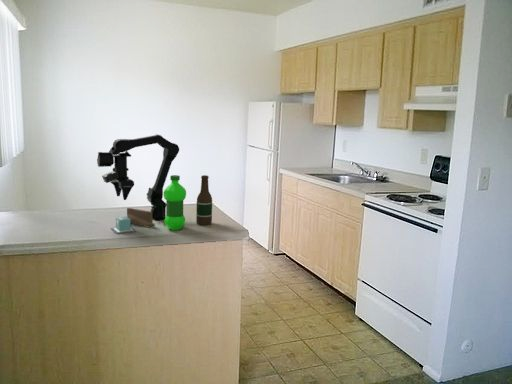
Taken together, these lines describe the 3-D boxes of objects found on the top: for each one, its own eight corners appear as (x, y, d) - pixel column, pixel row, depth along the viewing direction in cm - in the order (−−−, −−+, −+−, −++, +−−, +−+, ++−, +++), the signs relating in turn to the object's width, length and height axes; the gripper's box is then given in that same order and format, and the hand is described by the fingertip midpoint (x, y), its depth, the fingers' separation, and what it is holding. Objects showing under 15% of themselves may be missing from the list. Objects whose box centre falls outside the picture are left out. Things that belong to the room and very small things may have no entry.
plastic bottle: (161, 226, 212) (161, 174, 207) (183, 224, 216) (183, 173, 211) (166, 232, 203) (165, 178, 198) (188, 230, 207) (189, 177, 202)
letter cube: (126, 227, 206) (126, 216, 205) (130, 229, 202) (130, 219, 201) (115, 228, 204) (115, 217, 203) (119, 231, 199) (119, 220, 198)
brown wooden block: (131, 220, 219) (131, 207, 218) (154, 225, 213) (154, 211, 212) (124, 223, 215) (124, 209, 213) (147, 227, 209) (147, 213, 207)
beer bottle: (214, 223, 221) (215, 175, 216) (206, 226, 214) (207, 177, 209) (201, 220, 224) (202, 173, 219) (193, 224, 217) (193, 175, 213)
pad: (129, 226, 209) (129, 225, 209) (136, 231, 202) (136, 230, 202) (110, 229, 204) (110, 228, 204) (116, 234, 197) (116, 233, 197)
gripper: (97, 164, 214) (98, 196, 217) (110, 169, 199) (111, 203, 202) (120, 163, 220) (121, 193, 223) (134, 168, 205) (134, 201, 209)
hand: (121, 198), depth 214 cm, fingers open, 9 cm apart
